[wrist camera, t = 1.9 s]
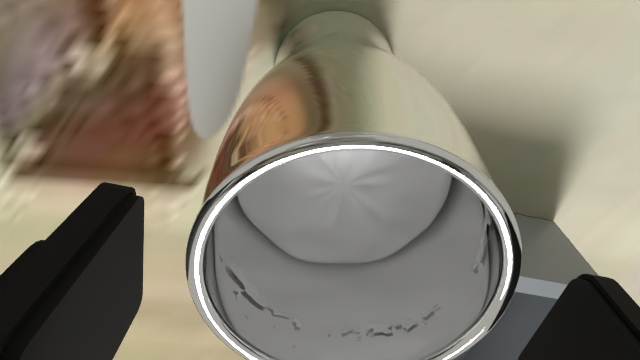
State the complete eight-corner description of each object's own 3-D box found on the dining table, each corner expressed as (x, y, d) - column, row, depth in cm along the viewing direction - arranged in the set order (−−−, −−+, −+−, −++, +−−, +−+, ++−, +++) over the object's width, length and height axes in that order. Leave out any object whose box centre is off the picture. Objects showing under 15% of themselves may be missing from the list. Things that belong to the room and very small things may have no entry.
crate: (318, 175, 24) (317, 239, 19) (553, 221, 26) (612, 292, 20) (270, 365, 33) (260, 445, 28) (446, 391, 34) (468, 471, 29)
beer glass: (259, 125, 22) (173, 375, 10) (274, -13, 19) (170, 85, 6) (383, 145, 23) (461, 407, 10) (419, 14, 20) (608, 158, 7)
